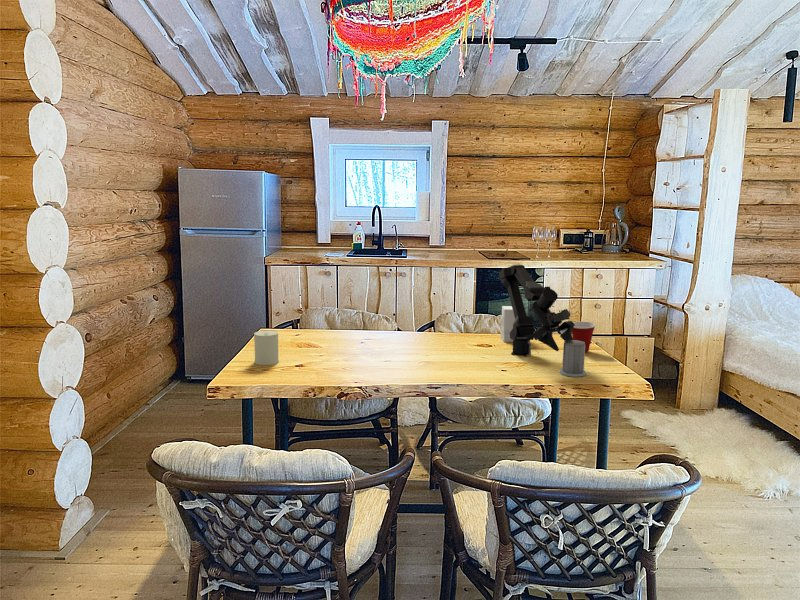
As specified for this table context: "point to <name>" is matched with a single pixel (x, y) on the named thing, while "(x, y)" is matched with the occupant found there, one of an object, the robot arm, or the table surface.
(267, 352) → the can
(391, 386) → the table surface
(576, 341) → the grey flanged cylinder
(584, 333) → the plastic cup
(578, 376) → the bowl saucer
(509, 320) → the supplement box
